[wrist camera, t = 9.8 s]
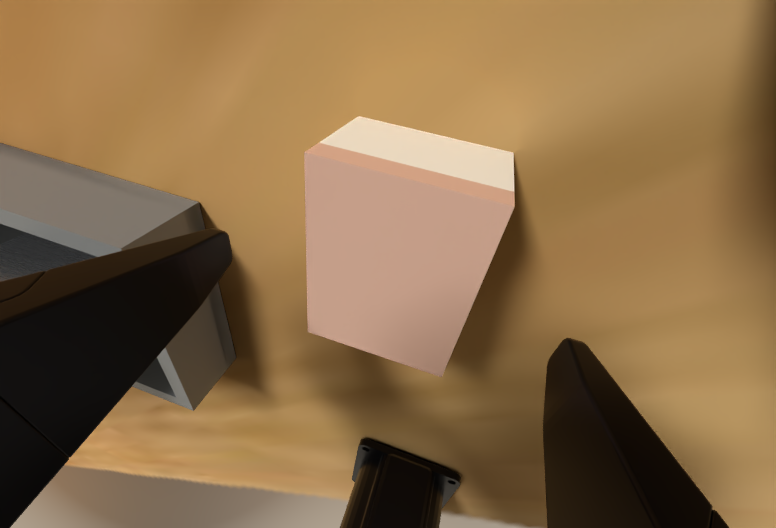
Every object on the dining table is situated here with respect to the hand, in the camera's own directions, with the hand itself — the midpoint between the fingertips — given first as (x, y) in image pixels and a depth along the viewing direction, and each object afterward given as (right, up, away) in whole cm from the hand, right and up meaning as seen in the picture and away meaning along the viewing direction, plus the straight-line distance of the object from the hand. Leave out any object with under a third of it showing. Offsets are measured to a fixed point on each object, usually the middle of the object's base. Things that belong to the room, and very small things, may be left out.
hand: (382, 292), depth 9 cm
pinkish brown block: (+1, +2, +3) cm, 4 cm away
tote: (-13, +1, +9) cm, 16 cm away
